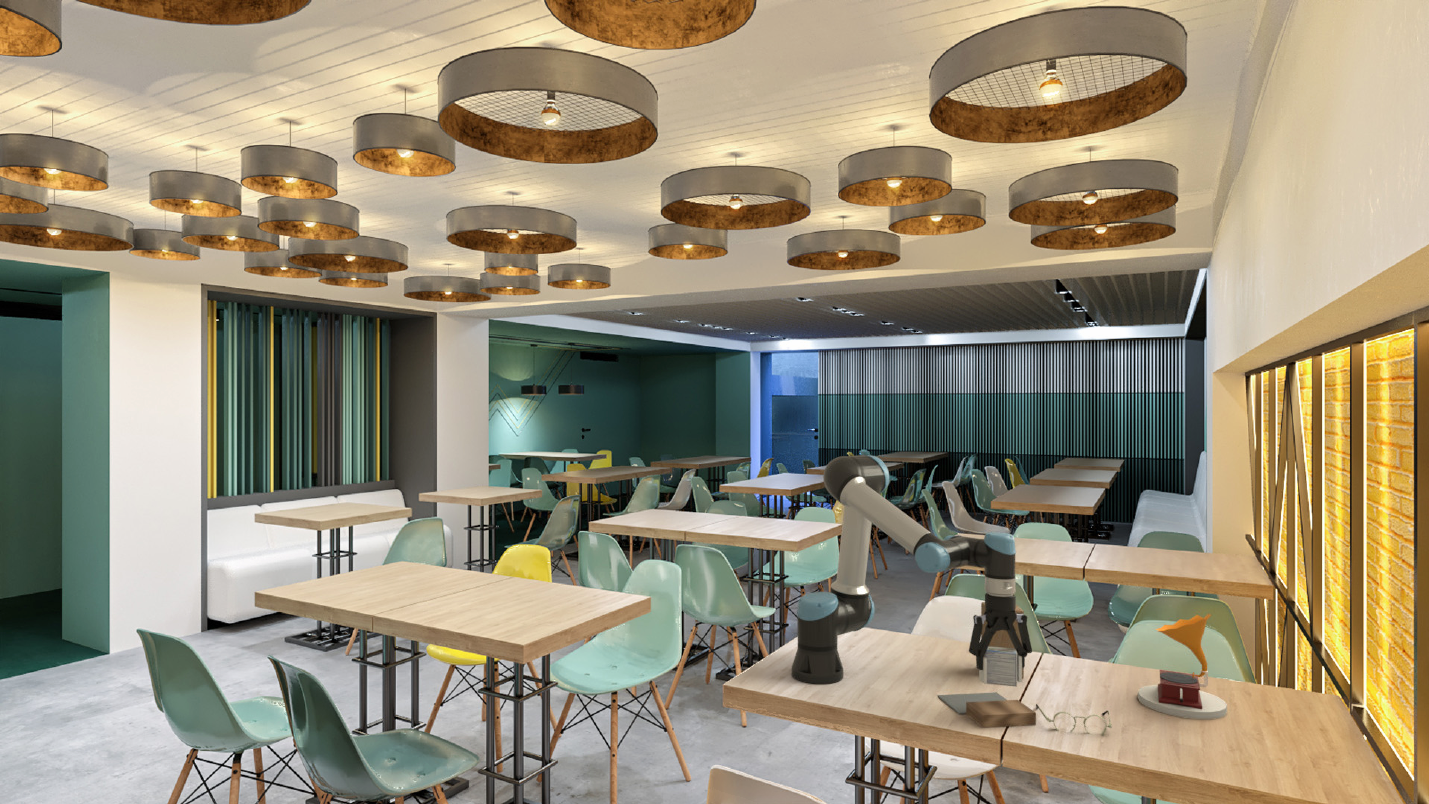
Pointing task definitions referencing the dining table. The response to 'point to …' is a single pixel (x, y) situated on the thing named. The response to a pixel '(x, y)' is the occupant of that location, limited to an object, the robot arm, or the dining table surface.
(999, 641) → the wooden block
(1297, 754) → the dining table surface
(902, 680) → the dining table surface
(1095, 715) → the round eyeglasses
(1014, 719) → the brown wooden flat block
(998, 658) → the medicine box
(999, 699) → the mat
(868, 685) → the dining table surface
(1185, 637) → the gramophone
